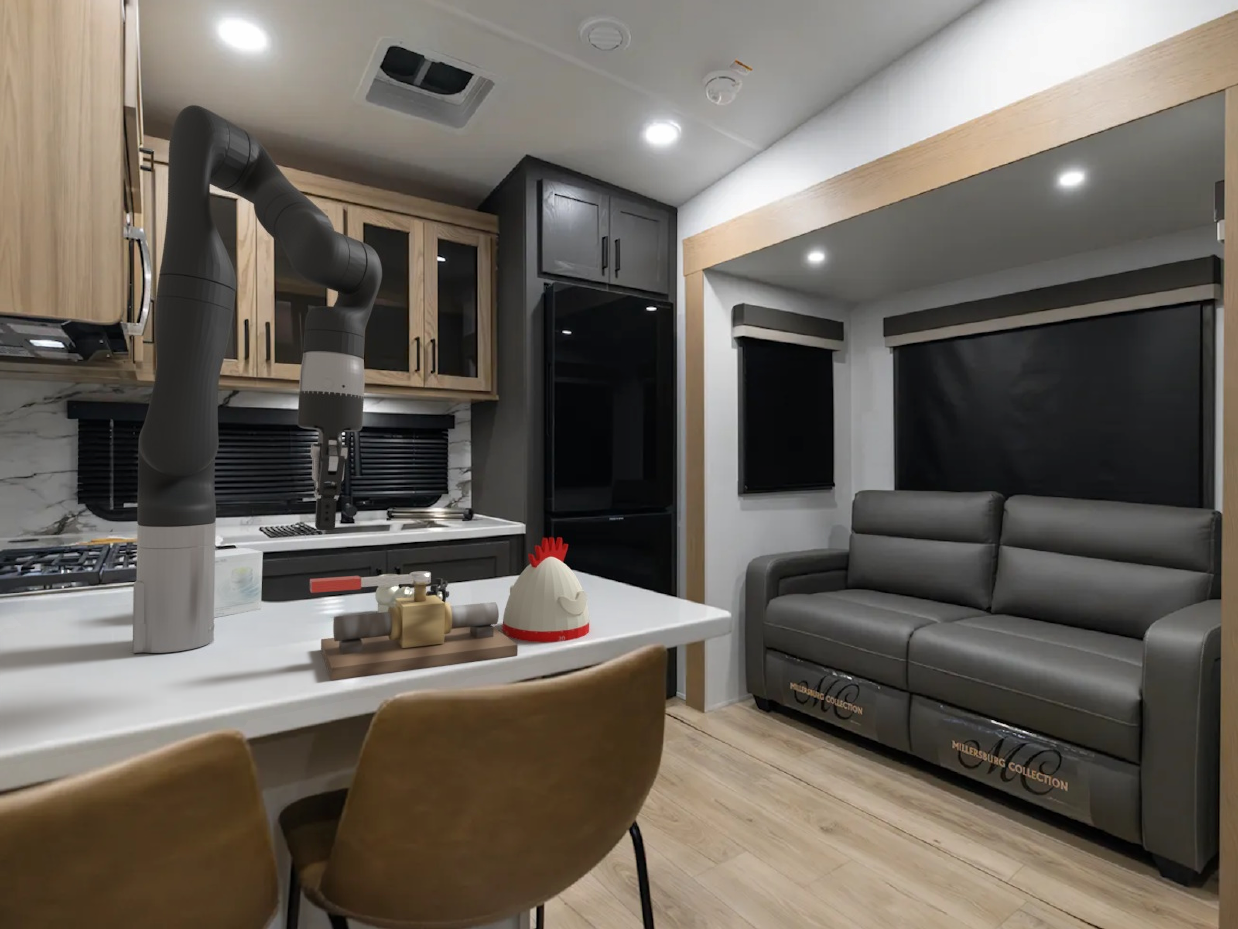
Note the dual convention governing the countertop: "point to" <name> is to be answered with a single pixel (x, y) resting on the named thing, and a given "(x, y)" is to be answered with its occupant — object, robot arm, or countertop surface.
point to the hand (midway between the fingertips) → (324, 529)
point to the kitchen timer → (546, 599)
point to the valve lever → (367, 581)
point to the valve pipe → (414, 637)
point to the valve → (406, 593)
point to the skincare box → (237, 581)
